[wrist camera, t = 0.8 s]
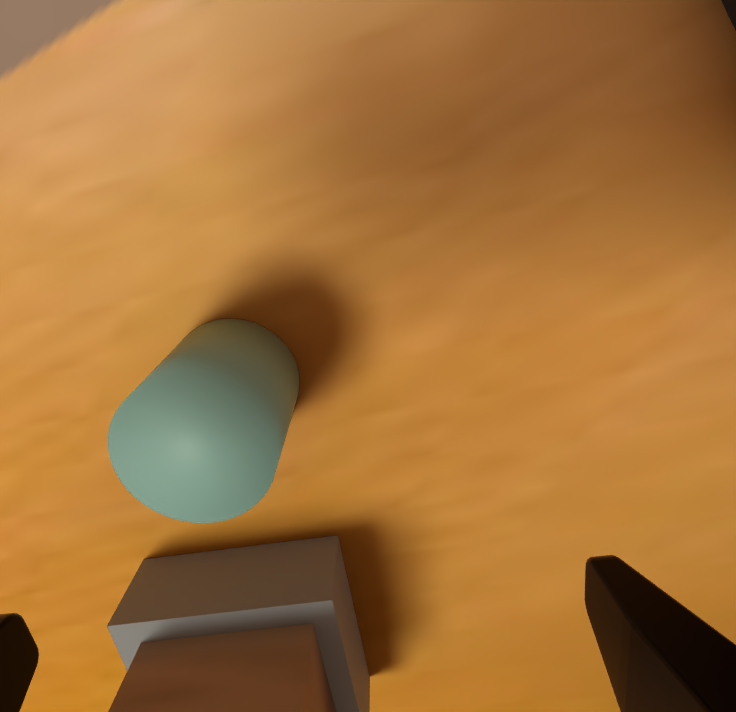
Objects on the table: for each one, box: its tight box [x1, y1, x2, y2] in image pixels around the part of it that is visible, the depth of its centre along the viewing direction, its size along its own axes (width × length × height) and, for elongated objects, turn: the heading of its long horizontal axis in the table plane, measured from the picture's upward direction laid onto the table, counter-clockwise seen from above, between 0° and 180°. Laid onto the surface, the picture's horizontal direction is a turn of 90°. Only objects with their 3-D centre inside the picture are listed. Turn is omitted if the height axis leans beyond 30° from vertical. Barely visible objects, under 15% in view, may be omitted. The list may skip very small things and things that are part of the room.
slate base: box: [107, 535, 370, 712], centre depth 24 cm, size 9×9×4 cm
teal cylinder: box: [108, 319, 300, 523], centre depth 19 cm, size 5×5×6 cm
